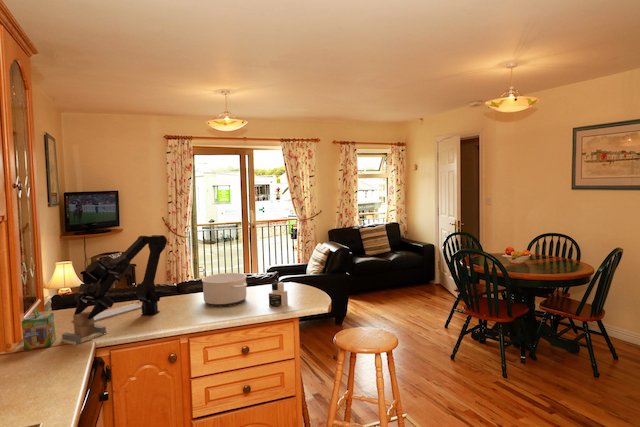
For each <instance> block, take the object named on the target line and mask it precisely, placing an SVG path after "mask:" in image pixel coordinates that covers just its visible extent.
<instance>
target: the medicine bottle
mask: <svg viewBox="0 0 640 427" xmlns="http://www.w3.org/2000/svg"><path fill="white" fill-rule="evenodd" d="M288 304H289V300H288V290H285V284H284V282H283V281H274V282H272V283H271V292H269V293H268V306H269V308H275V307H276V308H277V309H283V308H284V307H285V306H288Z"/></svg>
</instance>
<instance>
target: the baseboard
mask: <svg viewBox="0 0 640 427" xmlns="http://www.w3.org/2000/svg"><path fill="white" fill-rule="evenodd" d="M136 310H142V302H141V303H140V301H137V302H136V301H135V302H134V301H132V303H131V304H127V305H123V306H119V307H115V308H112V309H109V310H108V309H107V310H104V311H103V312H101V313H99V314H98V315H96V316H95V317H94V323H95V322H98V320H99V321H102V320H104V319H105V320H106V319H108V318H113V317H115V316H119V314H120V315H123V314H126V312H127V313H130V312H133V311H136ZM112 316H113V317H112ZM72 321H73V323H74V320H73V319H72Z"/></svg>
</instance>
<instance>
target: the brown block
mask: <svg viewBox="0 0 640 427" xmlns="http://www.w3.org/2000/svg"><path fill="white" fill-rule="evenodd" d="M90 313H91V311H89V310H86V311H83V312H81V313H79V314H76V315H74V314H73V316H72V318H73V319H72V321H73V320H74V322H73V330H74V333H73V334H76V335H80V336H81V338H82V337H85V336H88V335H91V334H94V333H95V328H94V325H95V322H94V317H93V318H92V319H90V320H89V319H88V316H89V314H90Z"/></svg>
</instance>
